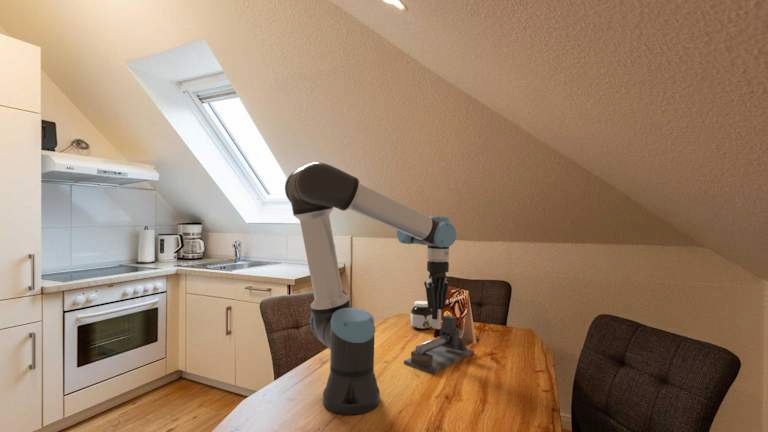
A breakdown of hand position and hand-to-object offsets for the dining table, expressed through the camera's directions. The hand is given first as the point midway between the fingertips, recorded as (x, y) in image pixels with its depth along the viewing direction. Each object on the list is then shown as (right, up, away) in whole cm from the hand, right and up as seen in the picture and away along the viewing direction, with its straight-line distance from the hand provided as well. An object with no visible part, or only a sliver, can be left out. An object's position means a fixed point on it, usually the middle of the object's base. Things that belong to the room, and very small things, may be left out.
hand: (436, 327), depth 128 cm
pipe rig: (+2, -11, +2) cm, 11 cm away
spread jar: (-1, -12, +39) cm, 41 cm away
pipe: (+2, -7, +2) cm, 7 cm away
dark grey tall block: (+6, -9, +6) cm, 12 cm away
